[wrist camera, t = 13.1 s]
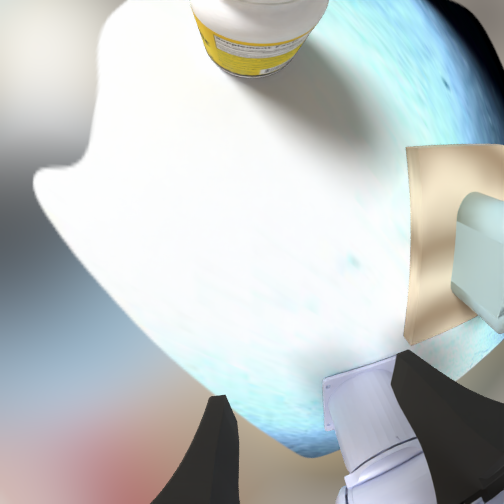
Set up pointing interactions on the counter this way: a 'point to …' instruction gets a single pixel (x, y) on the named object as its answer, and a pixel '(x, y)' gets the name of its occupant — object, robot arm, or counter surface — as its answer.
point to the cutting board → (442, 228)
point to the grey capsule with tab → (480, 258)
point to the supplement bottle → (255, 32)
